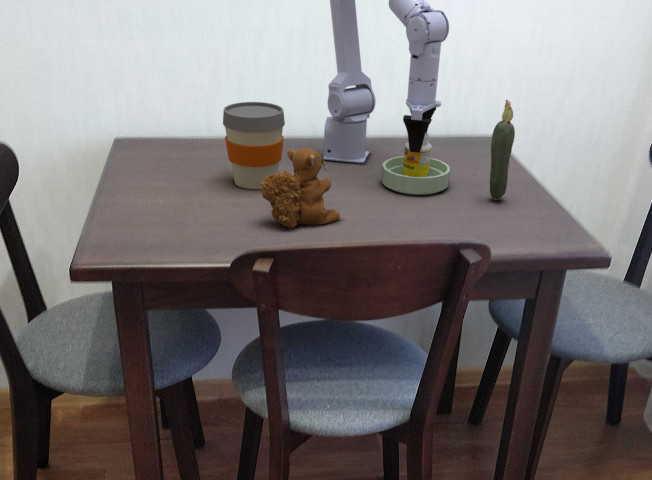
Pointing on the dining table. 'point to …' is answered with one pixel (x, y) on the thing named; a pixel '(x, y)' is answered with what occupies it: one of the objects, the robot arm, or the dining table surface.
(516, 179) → the dining table surface
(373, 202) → the dining table surface
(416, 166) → the supplement bottle
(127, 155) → the dining table surface
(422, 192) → the bowl
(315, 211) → the stuffed squirrel
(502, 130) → the vegetable
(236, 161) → the reusable coffee cup
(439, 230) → the dining table surface
